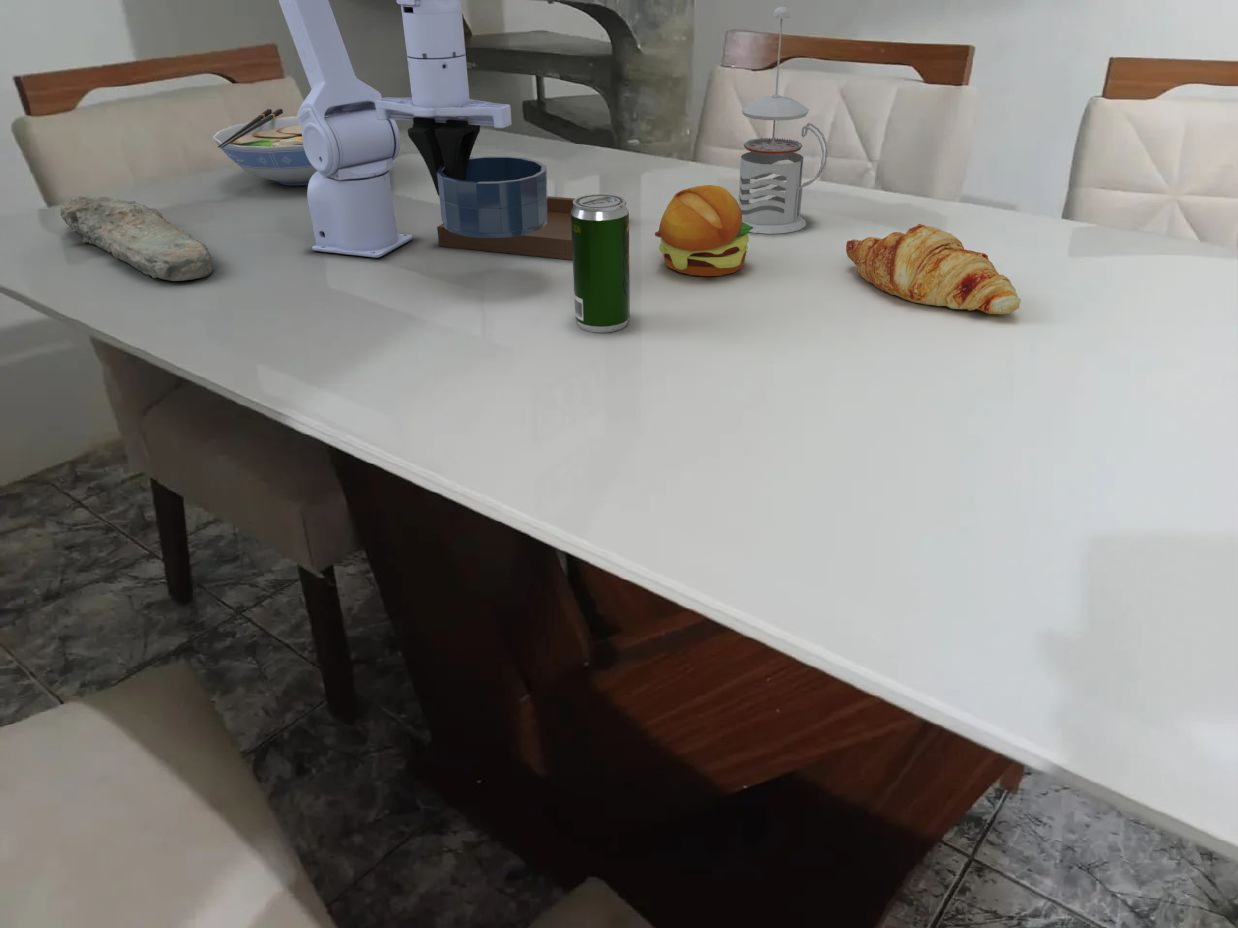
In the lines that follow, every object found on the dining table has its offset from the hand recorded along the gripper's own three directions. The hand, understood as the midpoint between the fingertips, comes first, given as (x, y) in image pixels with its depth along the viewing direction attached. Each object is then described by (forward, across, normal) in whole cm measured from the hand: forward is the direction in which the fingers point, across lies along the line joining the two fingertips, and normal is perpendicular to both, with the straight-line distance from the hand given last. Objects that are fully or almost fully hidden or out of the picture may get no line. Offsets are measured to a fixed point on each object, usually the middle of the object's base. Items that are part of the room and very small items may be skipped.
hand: (451, 194), depth 99 cm
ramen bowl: (+10, -44, +32) cm, 55 cm away
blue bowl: (+2, +5, 0) cm, 6 cm away
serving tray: (+9, +1, +18) cm, 20 cm away
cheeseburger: (+10, +25, +12) cm, 29 cm away
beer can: (+9, +20, -7) cm, 23 cm away
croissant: (+9, +49, +11) cm, 51 cm away
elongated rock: (+10, -43, -3) cm, 44 cm away
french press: (+10, +28, +31) cm, 43 cm away
